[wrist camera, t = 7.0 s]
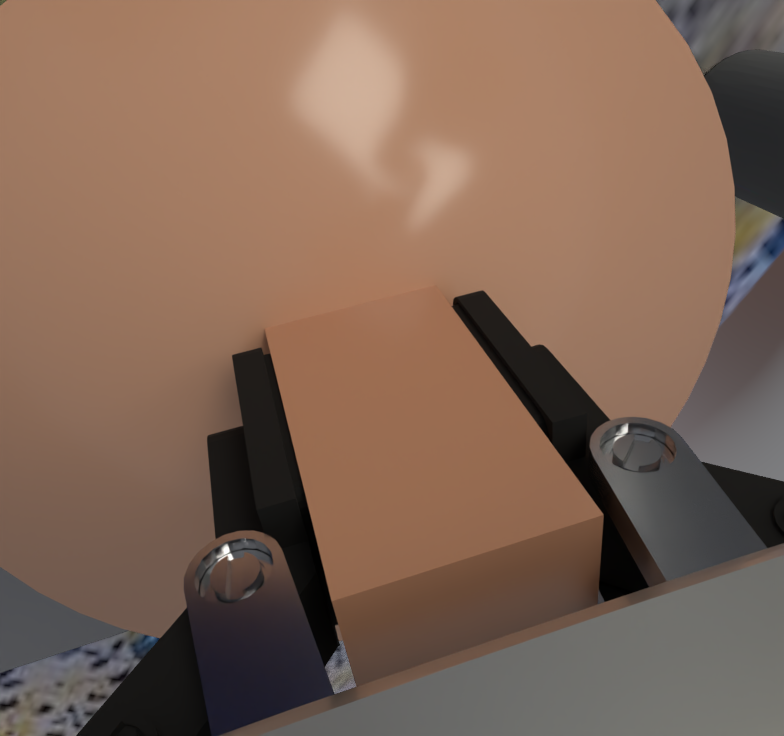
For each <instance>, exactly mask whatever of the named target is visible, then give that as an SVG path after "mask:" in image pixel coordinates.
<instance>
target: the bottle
mask: <svg viewBox="0 0 784 736" xmlns="http://www.w3.org/2000/svg"><path fill="white" fill-rule="evenodd" d="M704 78H705V80H706V82H707V84H708V86H709V88H710V90H711V92H712V95H713V98H714V101H715V104H716V107H717V110H718V114H719V117H720V120H721V123H722V126H723V129H724V132H725V135H726V139H727V144H728V150H729V156H730V162H731V169H732V175H733V181H734V187H735V196H736V197H738V198H740V199H742V200H744V201H746V202H749V203H751V204H753V205H755V206H757V207H760V208H762V209H764V210H766V211H768V212H771V213H773V214H775V215H777V216H779V217H782V218H784V53H780V52H773V51H765V50H747V51H743V52H739V53H736V54H734V55H732V56H730V57H728V58H726V59H724V60H723V61H721V62H720V63H719V64H717V65H716V66H715V67H714V68H713V69H712V70H710V71H709V72H708V73H707V74H706V75H705V77H704Z"/></svg>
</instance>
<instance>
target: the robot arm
mask: <svg viewBox="0 0 784 736" xmlns="http://www.w3.org/2000/svg"><path fill="white" fill-rule="evenodd" d="M451 307H452V308H453V309H454V311H455V312H456V313H457V315H458V316H459V317H460V319H461V320H462V322H463V323H464V324H465V326H466V327H467V328H468V330H469V331H470V333H471V334H472V335H473V337H474V338H475V339H476V341H477V342H478V343H479V345H480V346H481V348H482V349H483V350H484V352H485V353H486V354H487V356H488V357H489V359H490V360H491V361H492V363H493V364H494V365H495V367H496V368H497V369H498V371H499V372H500V374H501V375H502V376H503V378H504V379H505V380H506V382H507V383H508V385H509V386H510V387H511V389H512V390H513V391H514V393H515V394H516V395H517V397H518V398H519V400H520V401H521V402H522V404H523V405H524V406H525V408H526V409H527V411H528V412H529V413H530V415H531V416H532V417H533V419H534V420H535V422H536V423H537V424H538V426H539V427H540V428H541V430H542V431H543V432H544V434H545V435H546V437H547V438H548V439H549V441H550V442H551V443H552V445H553V446H554V448H555V449H556V450H557V452H558V453H559V454H560V456H561V457H562V458H563V460H564V461H565V463H566V464H567V465H568V467H569V468H570V469H571V471H572V472H573V474H574V475H575V476H576V478H577V479H578V480H579V482H580V483H581V484H582V486H583V487H584V489H585V490H586V491H587V493H588V494H589V495H590V497H591V498H592V500H593V501H594V502H595V504H596V505H597V506H598V508H599V509H600V510H601V512H602V513H603V515H604V518H603V532H602V547H601V561H600V575H599V590H598V604H597V605H595V606H592V607H589V608H586V609H583V610H580V611H577V612H574V613H571V614H568V615H565V616H562V617H559V618H556V619H554V620H551V621H548V622H545V623H542V624H539V625H536V626H533V627H530V628H527V629H524V630H521V631H518V632H515V633H512V634H509V635H506V636H503V637H500V638H497V639H495V640H492V641H489V642H486V643H483V644H480V645H477V646H474V647H471V648H468V649H465V650H462V651H459V652H456V653H453V654H450V655H447V656H445V657H442V658H439V659H436V660H433V661H430V662H427V663H424V664H421V665H418V666H416V667H413V668H410V669H407V670H404V671H401V672H398V673H395V674H392V675H389V676H387V677H384V678H381V679H378V680H375V681H372V682H369V683H366V684H363V685H360V686H358V687H355V688H352V689H349V690H346V691H343V692H340V693H337V694H334V692H333V689H332V686H331V684H330V681H329V678H328V675H327V672H326V670H325V666H326V664H327V662H328V661H329V659H330V658H331V656H332V655H333V653H334V652H335V650H336V649H337V647H338V646H340V644H339V640H338V636H337V632H336V628H335V625H338V621H337V618H336V615H335V611H334V608H333V604H332V601H331V597H330V593H329V589H328V585H327V581H326V576H325V572H324V568H323V564H322V560H321V556H320V552H319V548H318V544H317V540H316V536H315V532H314V528H313V524H312V520H311V516H310V512H309V507H308V503H307V499H306V495H305V491H304V487H303V483H302V479H301V475H300V471H299V467H298V463H297V459H296V455H295V451H294V447H293V442H292V438H291V434H290V430H289V426H288V422H287V418H286V414H285V410H284V406H283V402H282V398H281V394H280V390H279V386H278V382H277V377H276V373H275V369H274V365H273V361H272V357H271V353H269V354H265V355H264V354H263V351H262V348H257V349H253V350H249V351H245V352H241V353H237V354H234V355H232V360H233V366H234V373H235V379H236V385H237V391H238V398H239V404H240V410H241V417H242V423H243V426H240V427H236V428H232V429H229V430H225V431H221V432H218V433H214V434H210V435H208V436H207V447H208V459H209V470H210V482H211V493H212V505H213V516H214V528H215V540H213V541H211V542H210V543H208V544H207V545H206V546H205V547H204V548H202V549H201V550H200V551H199V552H198V553H197V554H196V555H195V557H194V558H193V559H192V561H191V562H190V563H189V565H188V568H187V570H186V573H185V575H184V594H185V599H186V605H187V608H186V609H185V610H184V612H183V613H182V614H181V615H180V616H179V617H178V618H177V620H176V621H175V622H174V623H173V624H172V625H171V627H170V628H169V629H168V630H167V631H166V632H165V633H164V635H163V636H162V637H161V638H160V639H159V640H158V642H157V643H156V644H155V645H154V646H153V647H152V649H151V650H150V651H149V652H148V653H147V654H146V655H145V657H144V658H143V659H142V660H141V661H140V662H139V664H138V665H137V666H136V667H135V668H134V669H133V671H132V672H131V673H130V674H129V675H128V676H127V677H126V679H125V680H124V681H123V682H122V683H121V684H120V686H119V687H118V688H117V689H116V690H115V691H114V693H113V694H112V695H111V696H110V697H109V698H108V699H107V701H106V702H105V703H104V704H103V705H102V706H101V708H100V709H99V710H98V711H97V712H96V713H95V714H94V716H93V717H92V718H91V719H90V720H89V721H88V723H87V724H86V725H85V726H84V727H83V728H82V730H81V731H80V732H79V733H78V734H77V735H76V736H784V482H783V481H779V480H775V479H771V478H766V477H763V476H758V475H754V474H750V473H746V472H742V471H737V470H733V469H729V468H725V467H720V466H716V465H712V464H708V463H704V462H701V461H700V460H699V459H698V458H697V456H696V455H695V454H694V453H693V451H692V450H691V449H690V448H689V446H688V445H687V443H686V442H685V441H684V439H683V438H682V437H681V436H680V435H679V434H678V433H677V432H676V431H675V430H674V429H672V428H670V427H669V426H667V425H665V424H663V423H661V422H658V421H655V420H651V419H648V418H641V417H623V418H617V419H613V420H610V419H609V418H608V417H607V416H606V414H605V413H604V412H603V411H602V410H601V409H600V408H599V407H598V405H597V404H596V403H595V402H594V401H593V400H592V399H591V397H590V396H589V395H588V394H587V393H586V392H585V391H584V389H583V388H582V387H581V386H580V385H579V384H578V383H577V381H576V380H575V379H574V378H573V377H572V376H571V375H570V373H569V372H568V371H567V370H566V369H565V368H564V367H563V365H562V364H561V363H560V362H559V361H558V360H557V359H556V357H555V356H554V355H553V354H552V353H551V352H550V351H549V350H548V349H547V348H546V347H545V346H544V345H540V344H539V345H535V346H530V344H529V343H528V342H527V341H526V340H525V338H524V337H523V336H522V335H521V334H520V332H519V331H518V330H517V329H516V328H515V327H514V325H513V324H512V323H511V322H510V321H509V319H508V318H507V317H506V316H505V315H504V314H503V312H502V311H501V310H500V309H499V308H498V306H497V305H496V304H495V303H494V302H493V301H492V299H491V298H490V297H489V296H488V295H487V293H486V292H484V291H483V290H481V291H477V292H473V293H469V294H466V295H462V296H458V297H455V298H454V299H453V306H451Z"/></svg>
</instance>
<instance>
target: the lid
mask: <svg viewBox="0 0 784 736" xmlns="http://www.w3.org/2000/svg"><path fill="white" fill-rule="evenodd" d="M734 242H735V187H734V181H733V175H732V169H731V162H730V156H729V150H728V144H727V139H726V135H725V132H724V129H723V126H722V123H721V120H720V117H719V114H718V110H717V107H716V104H715V101H714V98H713V95H712V92H711V90H710V88H709V86H708V84H707V82H706V80H705V78H704V76H703V74H702V72H701V70H700V68H699V66H698V64H697V62H696V60H695V58H694V56H693V54H692V52H691V50H690V48H689V46H688V44H687V43H686V41H685V40H684V39H683V37H682V36H681V34H680V33H679V32H678V30H677V29H676V28H675V26H674V25H673V23H672V22H671V21H670V19H669V18H668V17H667V15H666V14H665V13H664V11H663V10H662V8H661V7H660V6H659V4H658V3H657V2H656V0H7V1H6V2H4V3H3V4H2V5H1V6H0V567H1V568H3V569H4V570H6V571H7V572H9V573H10V574H12V575H13V576H15V577H16V578H18V579H19V580H21V581H22V582H24V583H25V584H27V585H28V586H30V587H31V588H33V589H34V590H36V591H37V592H39V593H41V594H43V595H45V596H47V597H49V598H51V599H53V600H55V601H57V602H59V603H61V604H63V605H65V606H67V607H69V608H71V609H73V610H75V611H77V612H79V613H81V614H83V615H86V616H89V617H92V618H94V619H97V620H100V621H102V622H105V623H108V624H111V625H113V626H116V627H119V628H121V629H125V630H129V631H133V632H137V633H141V634H145V635H149V636H153V637H157V638H161V637H162V636H163V635H164V633H165V632H166V631H167V630H168V629H169V628H170V627H171V625H172V624H173V623H174V622H175V621H176V620H177V618H178V617H179V616H180V615H181V614H182V613H183V612H184V610H185V609H186V608H187V605H186V599H185V594H184V575H185V573H186V570H187V568H188V565H189V563H190V562H191V561H192V559H193V558H194V557H195V555H196V554H197V553H198V552H199V551H200V550H201V549H202V548H204V547H205V546H206V545H207V544H208V543H210V542H211V541H213V540H215V528H214V516H213V505H212V493H211V482H210V470H209V459H208V447H207V436H208V435H210V434H214V433H218V432H221V431H225V430H229V429H232V428H236V427H240V426H243V423H242V417H241V410H240V404H239V398H238V391H237V385H236V379H235V373H234V366H233V360H232V355H234V354H237V353H241V352H245V351H249V350H253V349H257V348H262V351H263V354H264V355H265V354H269V353H271V357H272V361H273V365H274V369H275V373H276V377H277V382H278V386H279V390H280V394H281V398H282V402H283V406H284V410H285V414H286V418H287V422H288V426H289V430H290V434H291V438H292V442H293V447H294V451H295V455H296V459H297V463H298V467H299V471H300V475H301V479H302V483H303V487H304V491H305V495H306V499H307V503H308V507H309V512H310V516H311V520H312V524H313V528H314V532H315V536H316V540H317V544H318V548H319V552H320V556H321V560H322V564H323V568H324V572H325V576H326V581H327V585H328V589H329V593H330V597H331V601H332V604H333V608H334V611H335V615H336V618H337V621H338V625H335V628H336V632H337V636H338V640H339V641H342V640H343V642H344V645H345V649H346V652H347V656H348V659H349V662H350V666H351V669H352V673H353V676H354V679H355V683H356V686H357V687H358V686H360V685H363V684H366V683H369V682H372V681H375V680H378V679H381V678H384V677H387V676H389V675H392V674H395V673H398V672H401V671H404V670H407V669H410V668H413V667H416V666H418V665H421V664H424V663H427V662H430V661H433V660H436V659H439V658H442V657H445V656H447V655H450V654H453V653H456V652H459V651H462V650H465V649H468V648H471V647H474V646H477V645H480V644H483V643H486V642H489V641H492V640H495V639H497V638H500V637H503V636H506V635H509V634H512V633H515V632H518V631H521V630H524V629H527V628H530V627H533V626H536V625H539V624H542V623H545V622H548V621H551V620H554V619H556V618H559V617H562V616H565V615H568V614H571V613H574V612H577V611H580V610H583V609H586V608H589V607H592V606H595V605H597V604H598V590H599V575H600V561H601V547H602V532H603V518H604V515H603V513H602V512H601V510H600V509H599V508H598V506H597V505H596V504H595V502H594V501H593V500H592V498H591V497H590V495H589V494H588V493H587V491H586V490H585V489H584V487H583V486H582V484H581V483H580V482H579V480H578V479H577V478H576V476H575V475H574V474H573V472H572V471H571V469H570V468H569V467H568V465H567V464H566V463H565V461H564V460H563V458H562V457H561V456H560V454H559V453H558V452H557V450H556V449H555V448H554V446H553V445H552V443H551V442H550V441H549V439H548V438H547V437H546V435H545V434H544V432H543V431H542V430H541V428H540V427H539V426H538V424H537V423H536V422H535V420H534V419H533V417H532V416H531V415H530V413H529V412H528V411H527V409H526V408H525V406H524V405H523V404H522V402H521V401H520V400H519V398H518V397H517V395H516V394H515V393H514V391H513V390H512V389H511V387H510V386H509V385H508V383H507V382H506V380H505V379H504V378H503V376H502V375H501V374H500V372H499V371H498V369H497V368H496V367H495V365H494V364H493V363H492V361H491V360H490V359H489V357H488V356H487V354H486V353H485V352H484V350H483V349H482V348H481V346H480V345H479V343H478V342H477V341H476V339H475V338H474V337H473V335H472V334H471V333H470V331H469V330H468V328H467V327H466V326H465V324H464V323H463V322H462V320H461V319H460V317H459V316H458V315H457V313H456V312H455V311H454V309H453V308H452V307H451V306H453V299H454V298H455V297H458V296H462V295H466V294H469V293H473V292H477V291H481V290H483V291H484V292H486V293H487V295H488V296H489V297H490V298H491V299H492V301H493V302H494V303H495V304H496V305H497V306H498V308H499V309H500V310H501V311H502V312H503V314H504V315H505V316H506V317H507V318H508V319H509V321H510V322H511V323H512V324H513V325H514V327H515V328H516V329H517V330H518V331H519V332H520V334H521V335H522V336H523V337H524V338H525V340H526V341H527V342H528V343H529V344H530V346H535V345H539V344H540V345H544V346H545V347H546V348H547V349H548V350H549V351H550V352H551V353H552V354H553V355H554V356H555V357H556V359H557V360H558V361H559V362H560V363H561V364H562V365H563V367H564V368H565V369H566V370H567V371H568V372H569V373H570V375H571V376H572V377H573V378H574V379H575V380H576V381H577V383H578V384H579V385H580V386H581V387H582V388H583V389H584V391H585V392H586V393H587V394H588V395H589V396H590V397H591V399H592V400H593V401H594V402H595V403H596V404H597V405H598V407H599V408H600V409H601V410H602V411H603V412H604V413H605V414H606V416H607V417H608V418H609V419H610V420H613V419H617V418H623V417H641V418H648V419H651V420H655V421H658V422H661V423H663V424H665V425H667V426H669V427H670V428H671V426H672V424H673V423H674V421H675V419H676V418H677V416H678V415H679V413H680V411H681V410H682V408H683V406H684V405H685V403H686V401H687V400H688V398H689V396H690V394H691V392H692V390H693V387H694V385H695V383H696V381H697V379H698V377H699V375H700V373H701V371H702V368H703V367H704V365H705V363H706V360H707V357H708V354H709V352H710V349H711V346H712V343H713V341H714V338H715V335H716V332H717V330H718V327H719V324H720V321H721V317H722V313H723V308H724V304H725V300H726V296H727V291H728V287H729V283H730V279H731V270H732V261H733V251H734Z"/></svg>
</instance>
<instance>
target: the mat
mask: <svg viewBox="0 0 784 736" xmlns="http://www.w3.org/2000/svg"><path fill="white" fill-rule="evenodd" d="M126 631H129V630H125V629H121V628H119V627H116V626H113V625H111V624H108V623H105V622H102V621H100V620H97V619H94V618H92V617H89V616H86V615H83V614H81V613H79V612H77V611H75V610H73V609H71V608H69V607H67V606H65V605H63V604H61V603H59V602H57V601H55V600H53V599H51V598H49V597H47V596H45V595H43V594H41V593H39V592H37V591H36V590H34V589H33V588H31V587H30V586H28V585H27V584H25V583H24V582H22V581H21V580H19V579H18V578H16V577H15V576H13V575H12V574H10V573H9V572H7V571H6V570H4V569H3V568H1V567H0V673H1V672H4V671H7V670H10V669H13V668H16V667H19V666H23V665H26V664H29V663H32V662H35V661H38V660H41V659H44V658H47V657H50V656H53V655H56V654H59V653H62V652H65V651H68V650H71V649H74V648H78V647H81V646H84V645H87V644H90V643H93V642H96V641H99V640H102V639H105V638H108V637H111V636H114V635H117V634H120V633H123V632H126Z"/></svg>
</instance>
